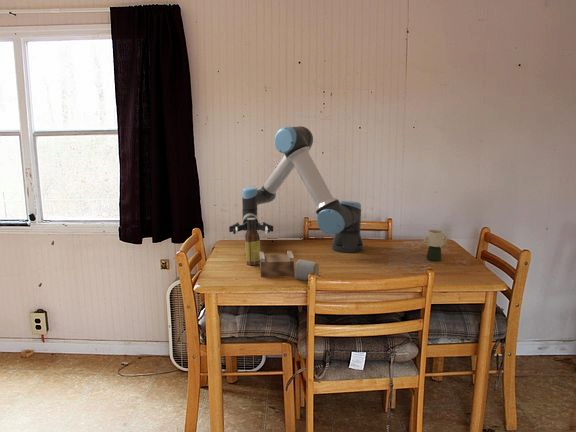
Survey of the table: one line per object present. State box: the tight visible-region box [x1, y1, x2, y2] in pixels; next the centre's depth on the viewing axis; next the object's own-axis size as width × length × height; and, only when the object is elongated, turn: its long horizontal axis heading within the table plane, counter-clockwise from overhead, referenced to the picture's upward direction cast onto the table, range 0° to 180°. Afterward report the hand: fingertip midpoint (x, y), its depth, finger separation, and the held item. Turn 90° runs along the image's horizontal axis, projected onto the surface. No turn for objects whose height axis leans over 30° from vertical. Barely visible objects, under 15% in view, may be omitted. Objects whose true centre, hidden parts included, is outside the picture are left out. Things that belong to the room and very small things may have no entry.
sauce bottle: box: [244, 218, 261, 266], centre depth 207 cm, size 7×6×20 cm
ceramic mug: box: [294, 259, 320, 281], centre depth 190 cm, size 11×8×8 cm
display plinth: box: [259, 250, 295, 278], centre depth 196 cm, size 13×10×8 cm
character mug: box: [422, 229, 448, 261], centre depth 214 cm, size 11×7×13 cm, turn 98°
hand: (251, 233), depth 216 cm, fingers open, 13 cm apart
